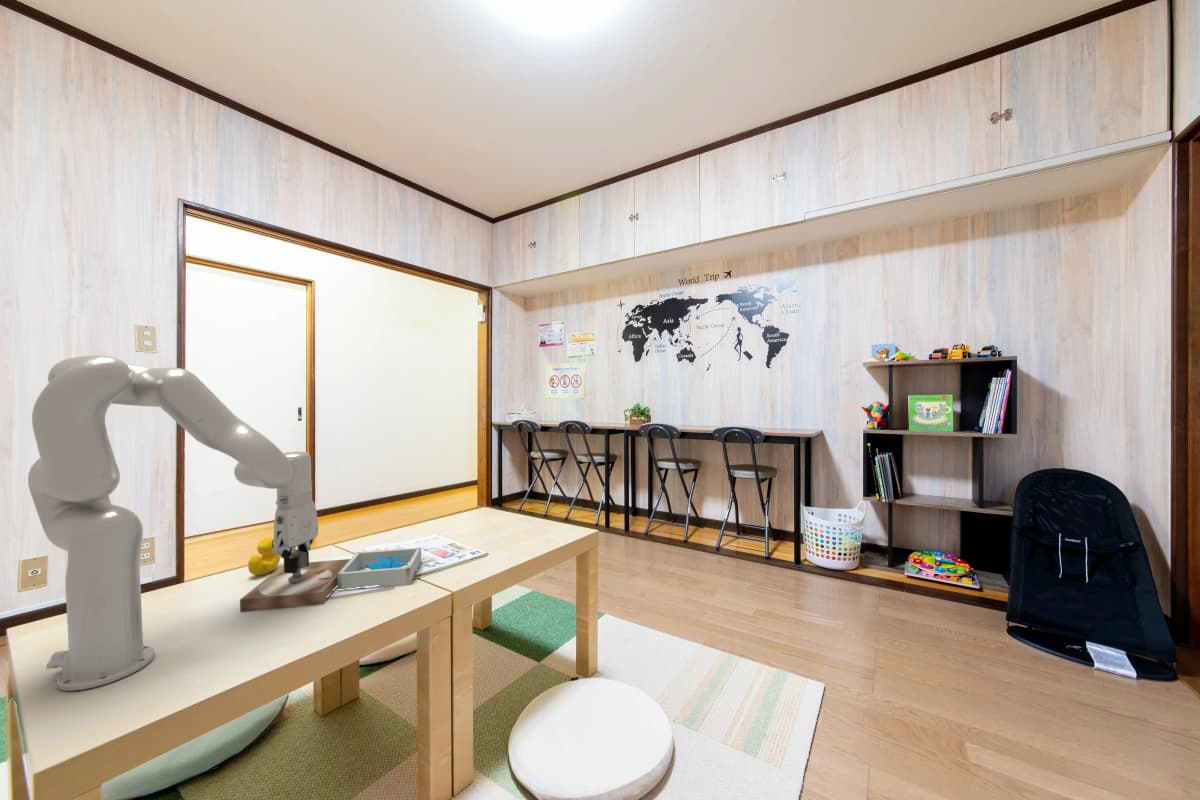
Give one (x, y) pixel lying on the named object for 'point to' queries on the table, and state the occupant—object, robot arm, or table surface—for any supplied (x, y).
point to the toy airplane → (386, 563)
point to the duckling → (264, 558)
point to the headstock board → (294, 588)
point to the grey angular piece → (301, 564)
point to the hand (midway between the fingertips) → (296, 568)
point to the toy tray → (382, 577)
